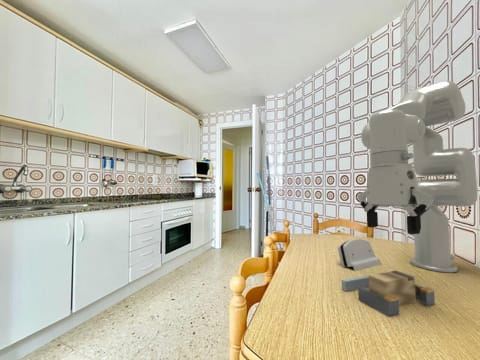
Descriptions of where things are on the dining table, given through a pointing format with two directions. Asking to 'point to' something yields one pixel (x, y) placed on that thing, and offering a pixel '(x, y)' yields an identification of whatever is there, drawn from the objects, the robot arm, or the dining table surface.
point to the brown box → (394, 286)
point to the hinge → (357, 254)
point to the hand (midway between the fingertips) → (391, 230)
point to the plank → (355, 283)
